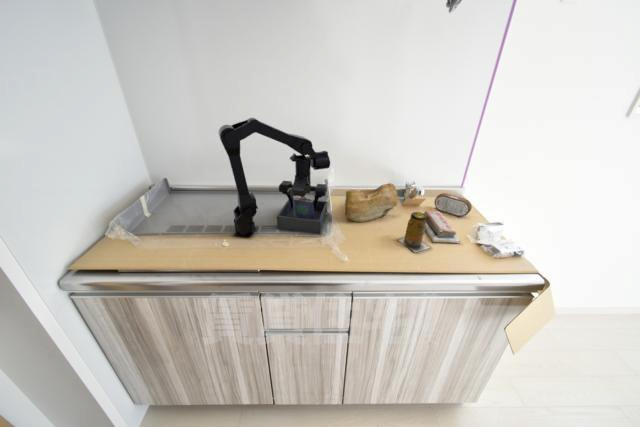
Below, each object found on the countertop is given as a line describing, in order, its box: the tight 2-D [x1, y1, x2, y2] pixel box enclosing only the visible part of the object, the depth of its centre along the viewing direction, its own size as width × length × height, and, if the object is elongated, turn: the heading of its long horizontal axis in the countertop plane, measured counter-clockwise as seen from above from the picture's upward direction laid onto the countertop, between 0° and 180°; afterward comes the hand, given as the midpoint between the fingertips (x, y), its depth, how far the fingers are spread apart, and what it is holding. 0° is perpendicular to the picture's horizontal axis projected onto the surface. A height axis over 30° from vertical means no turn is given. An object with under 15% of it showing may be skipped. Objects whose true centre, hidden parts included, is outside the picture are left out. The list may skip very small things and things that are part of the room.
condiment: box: [398, 211, 430, 253], centre depth 86 cm, size 7×8×12 cm
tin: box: [434, 192, 473, 218], centre depth 109 cm, size 15×3×8 cm, turn 49°
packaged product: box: [423, 210, 461, 244], centre depth 96 cm, size 18×5×10 cm
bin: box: [275, 198, 329, 235], centre depth 101 cm, size 18×18×6 cm
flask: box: [292, 196, 314, 220], centre depth 99 cm, size 9×3×11 cm, turn 71°
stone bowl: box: [343, 182, 399, 223], centre depth 106 cm, size 23×17×15 cm
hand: (303, 207), depth 100 cm, fingers closed on flask, 9 cm apart
